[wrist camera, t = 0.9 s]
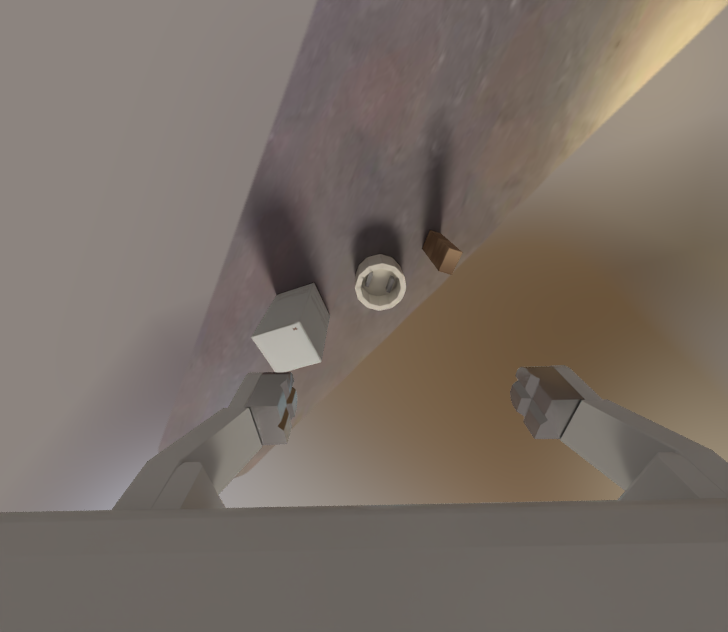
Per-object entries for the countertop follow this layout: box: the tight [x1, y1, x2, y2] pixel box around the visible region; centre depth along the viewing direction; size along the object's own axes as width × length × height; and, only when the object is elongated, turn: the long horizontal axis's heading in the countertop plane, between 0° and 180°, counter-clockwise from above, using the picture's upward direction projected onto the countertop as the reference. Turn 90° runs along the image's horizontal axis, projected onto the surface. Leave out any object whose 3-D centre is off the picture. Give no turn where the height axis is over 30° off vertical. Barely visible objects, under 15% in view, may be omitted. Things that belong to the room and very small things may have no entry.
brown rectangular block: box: [422, 230, 463, 275], centre depth 37 cm, size 3×2×10 cm, turn 163°
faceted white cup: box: [355, 254, 406, 311], centre depth 42 cm, size 8×8×4 cm
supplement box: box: [251, 283, 330, 372], centre depth 41 cm, size 7×7×13 cm
